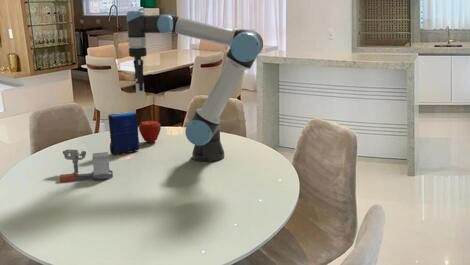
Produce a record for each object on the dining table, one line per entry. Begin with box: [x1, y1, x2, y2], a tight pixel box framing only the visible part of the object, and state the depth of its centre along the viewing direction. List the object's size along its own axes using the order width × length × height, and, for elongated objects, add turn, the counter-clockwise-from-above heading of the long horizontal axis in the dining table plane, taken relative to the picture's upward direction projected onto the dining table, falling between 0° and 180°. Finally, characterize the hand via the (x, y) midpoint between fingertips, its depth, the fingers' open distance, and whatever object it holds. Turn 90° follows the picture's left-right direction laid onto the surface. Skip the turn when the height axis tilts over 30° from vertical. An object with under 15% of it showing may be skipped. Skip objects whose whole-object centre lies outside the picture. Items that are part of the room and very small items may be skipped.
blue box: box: [108, 111, 140, 156], centre depth 273 cm, size 14×5×20 cm, turn 122°
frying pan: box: [59, 169, 114, 183], centre depth 237 cm, size 22×9×8 cm, turn 103°
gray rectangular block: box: [92, 151, 110, 176], centre depth 238 cm, size 6×6×8 cm
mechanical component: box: [62, 149, 87, 174], centre depth 245 cm, size 3×10×10 cm, turn 79°
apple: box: [138, 119, 162, 144], centre depth 292 cm, size 11×11×12 cm
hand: (140, 95), depth 249 cm, fingers open, 13 cm apart
